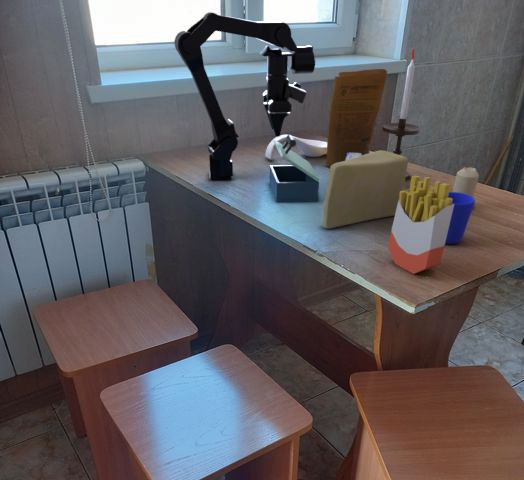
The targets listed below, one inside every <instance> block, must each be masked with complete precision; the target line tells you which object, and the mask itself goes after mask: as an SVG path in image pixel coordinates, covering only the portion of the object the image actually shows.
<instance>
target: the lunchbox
mask: <svg viewBox="0 0 524 480" xmlns="http://www.w3.org/2000/svg"><path fill="white" fill-rule="evenodd" d="M268 181H269V182H268V183H269V186H270V189H271V192H272V194H273V197H274V199H275V203H296V202H297V203H301V202H303V203H305V202H318V199H319V187H320V181H319V182H318V181H316V180H315V179H313V178H312V177H310V176H309V175H307V174H306V173H304V172H303V171H301V170H300V169H298V168H297V167H295V166H294V165H292V164H280V165H279V164H278V165H277V164H276V165H275V164H274V165H269V180H268Z"/></svg>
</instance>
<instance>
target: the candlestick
mask: <svg viewBox="0 0 524 480" xmlns="http://www.w3.org/2000/svg"><path fill="white" fill-rule="evenodd" d="M410 55H411V61H410V63H409V65H407V72H406V77H405V82H404V83H405V84H404V90H403V96H402V103H401V109H400V115H398V116H396V119H398V122H391V123H390V122H389V123H385V124H383V125H382V131H383V132H385V133H386V134H391V135H395V136H396V137H397V140H396V146H395V148H394V149H393V150H392V153H394V154H398V155H401V156H402V154H403V150H402V149H401V147H402V142H403V137H406V136H414V135H418V134H420V133H421V127H420V126H418V125H415V124H411V123H407V120H410V119H411V117H410V116H408V111H409V106H410V105H409V104H410V99H411V93H412V87H413V81H414V75H415V71H416V70H415V69H416V65H415V63H414V59H415V49H414V46H412V48H411V54H410ZM409 175H410V173H408V172H407V171H406V177H405V181H406V180H408V179H409Z"/></svg>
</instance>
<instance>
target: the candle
mask: <svg viewBox="0 0 524 480" xmlns="http://www.w3.org/2000/svg"><path fill="white" fill-rule="evenodd" d="M479 177H480V174H479V172H478V171H477V169H476V168H475V167H467V166H464V167H462V168H461V169H459V170H458V171H457V172H456V176H455V179H454V180H455V181H454V184H453V188H452V192H457V193H463V194H466V195H469V196H471V197H473V198H474V196H475V192H476V189H477V185H478V182H479Z"/></svg>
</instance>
